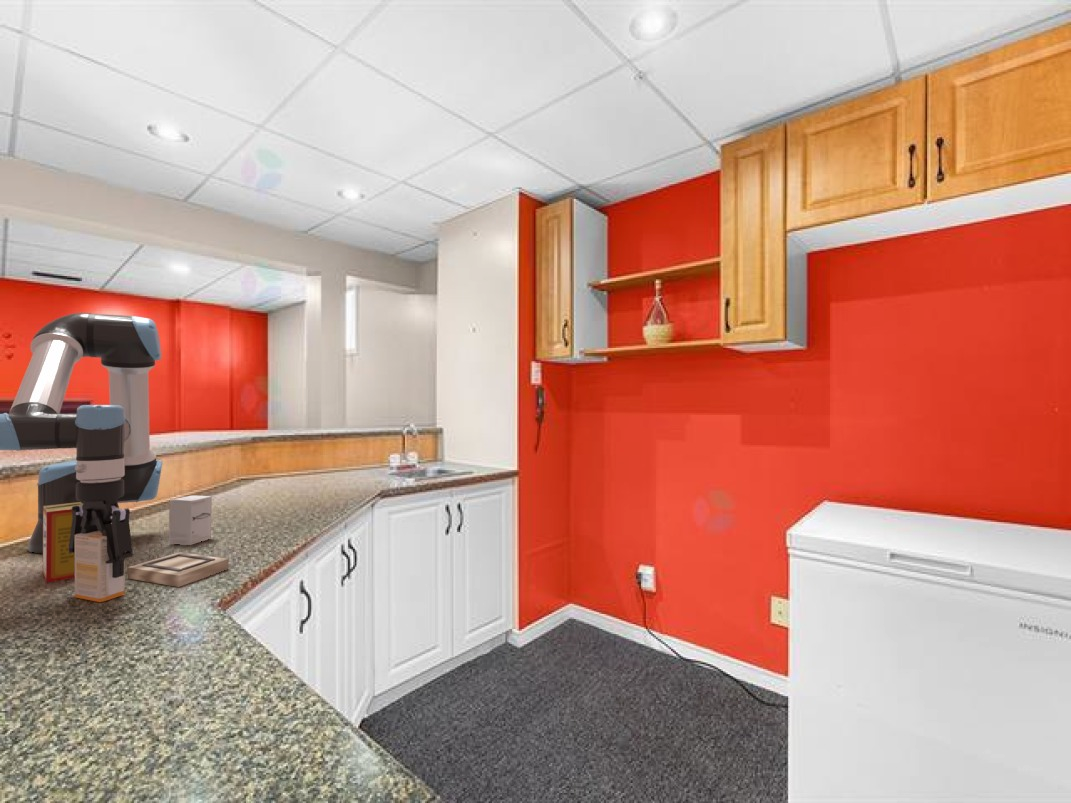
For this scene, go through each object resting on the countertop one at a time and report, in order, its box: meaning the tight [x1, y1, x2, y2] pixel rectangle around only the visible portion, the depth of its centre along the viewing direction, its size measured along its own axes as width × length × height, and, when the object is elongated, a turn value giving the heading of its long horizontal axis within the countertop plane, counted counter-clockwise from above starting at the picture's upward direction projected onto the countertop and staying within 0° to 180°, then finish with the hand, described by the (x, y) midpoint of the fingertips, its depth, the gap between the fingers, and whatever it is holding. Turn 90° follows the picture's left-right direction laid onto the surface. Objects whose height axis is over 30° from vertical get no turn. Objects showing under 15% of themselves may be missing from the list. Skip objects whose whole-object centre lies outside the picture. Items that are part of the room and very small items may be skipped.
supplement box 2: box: [168, 495, 213, 546], centre depth 142 cm, size 7×7×13 cm
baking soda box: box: [42, 502, 83, 584], centre depth 115 cm, size 10×6×16 cm
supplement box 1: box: [74, 531, 126, 603], centre depth 102 cm, size 8×5×13 cm, turn 71°
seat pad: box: [127, 551, 229, 588], centre depth 116 cm, size 16×12×3 cm
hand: (100, 589), depth 102 cm, fingers closed on supplement box 1, 8 cm apart
